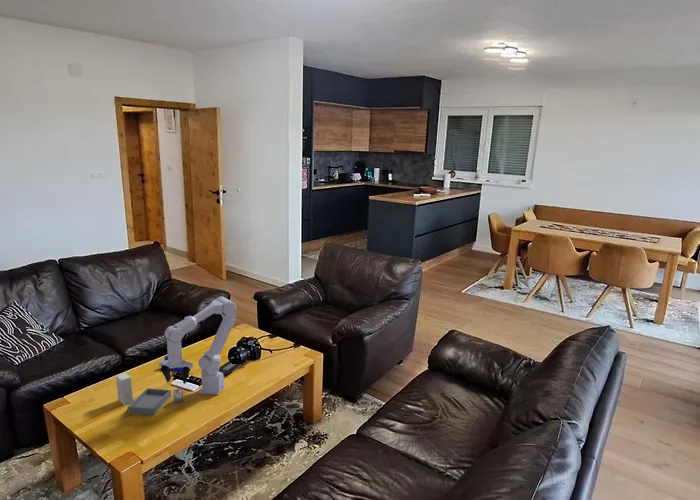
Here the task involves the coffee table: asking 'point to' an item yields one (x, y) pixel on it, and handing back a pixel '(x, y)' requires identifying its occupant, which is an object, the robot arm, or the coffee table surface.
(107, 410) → the coffee table surface
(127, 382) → the skincare box
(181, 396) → the cell
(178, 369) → the cable clip
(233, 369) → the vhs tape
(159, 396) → the grey tray
